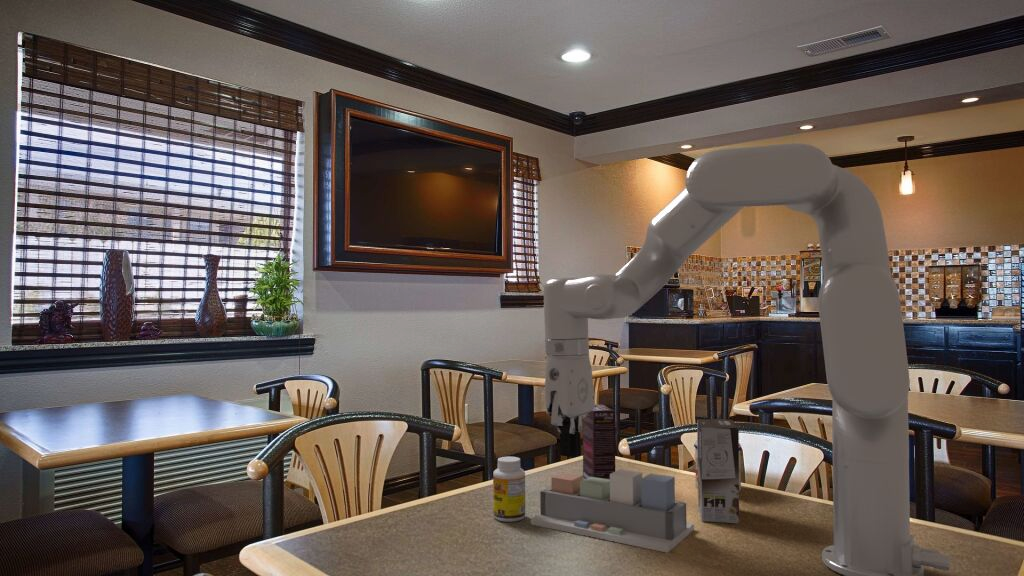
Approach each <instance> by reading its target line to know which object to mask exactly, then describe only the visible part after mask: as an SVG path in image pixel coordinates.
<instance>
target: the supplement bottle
mask: <svg viewBox="0 0 1024 576" xmlns="http://www.w3.org/2000/svg"><path fill="white" fill-rule="evenodd" d="M492 480H493V481H492V485H493V487H492V488H493V489H492V491H493V492H492V493H493V496H492V497H493V499H492V500H493V501H492V503H493V505H492V506H493V517H494V518H495V519H496V520H497V521H499V522H504V523H505V522H506V523H513V522H519V521H521V520H523V519H524V518H525V516H526V472H525V470H524V469H523V468H522V467H521V458H520V457H516V456H502V457H499V458H498V459H497V468H495V470H493V476H492Z"/></svg>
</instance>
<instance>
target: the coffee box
mask: <svg viewBox="0 0 1024 576" xmlns="http://www.w3.org/2000/svg"><path fill="white" fill-rule="evenodd" d="M696 421H697V422H696V424H697V425H696V429H697V432H696V433H697V440H696V441H697V447H698V489H697V493H698V494H697V499H698V501H697V503H698V504H697V505H698V510H699V514H700V518H701V522H710V523H724V524H740V491H739V443H740V436H739V435H740V431H739V430H740V428H739V427H738V425H737V424H736V423H735V422H734V421H733V419H726V418H725V419H724V418H721V419H719V418H718V419H717V418H716V419H715V418H714V419H711V418H710V419H702V418H701V419H700V418H698V419H696Z"/></svg>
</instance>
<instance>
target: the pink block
mask: <svg viewBox="0 0 1024 576" xmlns="http://www.w3.org/2000/svg"><path fill="white" fill-rule="evenodd" d="M581 481H583V474H578V473H577V474H575V473H571V472H563V471H562V472H560V473H558V474H556V475H554V476H551V486H552V491H553V492H559V493H564V494H570V495H574V494H576V493H578V492H580V482H581Z"/></svg>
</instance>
